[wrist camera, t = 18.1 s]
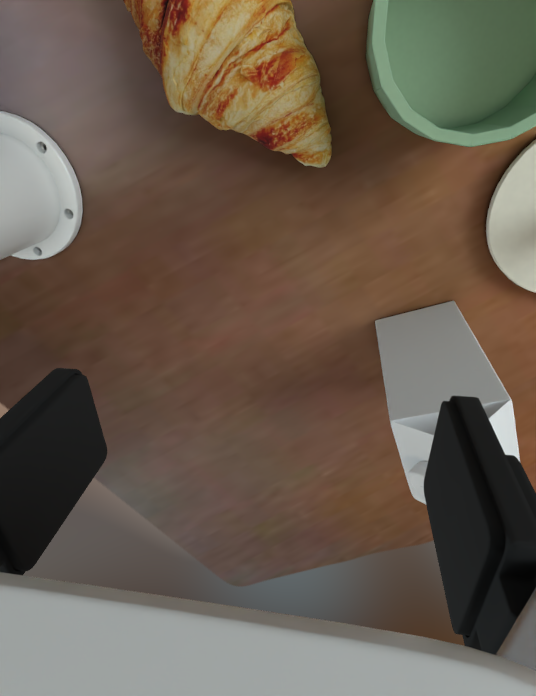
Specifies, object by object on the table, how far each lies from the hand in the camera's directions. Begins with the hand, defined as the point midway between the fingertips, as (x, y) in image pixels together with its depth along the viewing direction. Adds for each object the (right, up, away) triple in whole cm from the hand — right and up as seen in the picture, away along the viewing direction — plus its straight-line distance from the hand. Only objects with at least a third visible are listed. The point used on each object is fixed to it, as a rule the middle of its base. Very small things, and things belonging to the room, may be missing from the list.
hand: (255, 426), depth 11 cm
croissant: (-2, +24, +20) cm, 31 cm away
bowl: (+13, +23, +17) cm, 32 cm away
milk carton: (+15, +3, +29) cm, 33 cm away
